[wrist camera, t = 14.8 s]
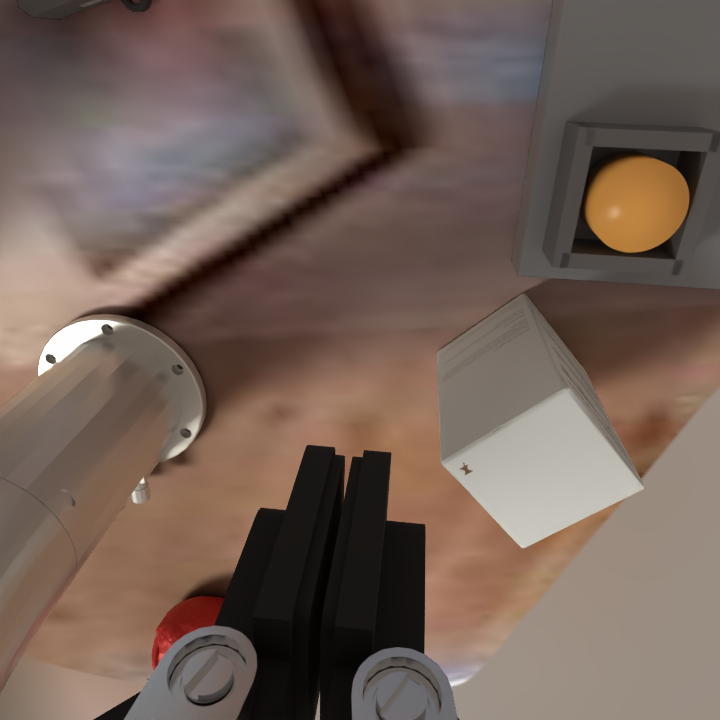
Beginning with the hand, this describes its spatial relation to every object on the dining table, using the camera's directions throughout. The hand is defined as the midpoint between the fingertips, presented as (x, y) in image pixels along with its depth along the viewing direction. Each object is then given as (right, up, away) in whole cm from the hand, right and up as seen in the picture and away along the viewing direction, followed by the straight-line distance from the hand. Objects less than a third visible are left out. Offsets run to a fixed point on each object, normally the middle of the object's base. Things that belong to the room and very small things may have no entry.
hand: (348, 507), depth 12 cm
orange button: (+14, +12, +19) cm, 26 cm away
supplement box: (+10, +3, +28) cm, 30 cm away
